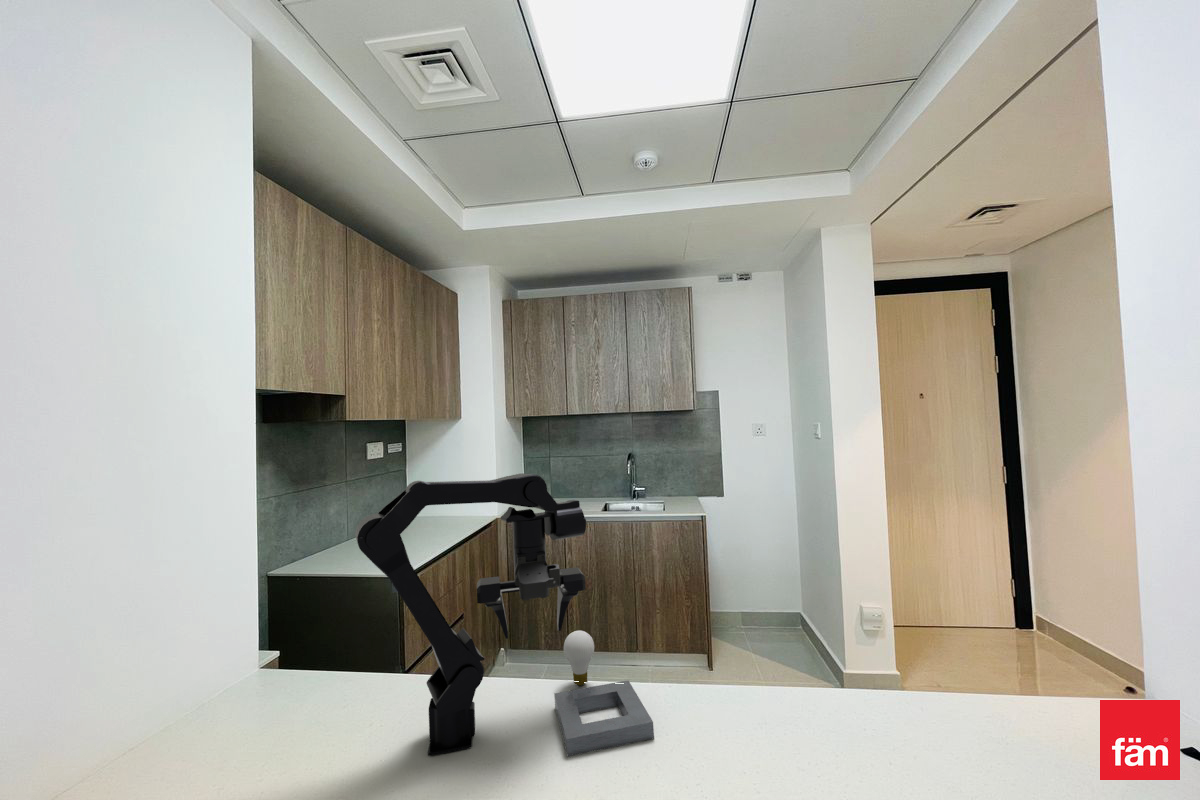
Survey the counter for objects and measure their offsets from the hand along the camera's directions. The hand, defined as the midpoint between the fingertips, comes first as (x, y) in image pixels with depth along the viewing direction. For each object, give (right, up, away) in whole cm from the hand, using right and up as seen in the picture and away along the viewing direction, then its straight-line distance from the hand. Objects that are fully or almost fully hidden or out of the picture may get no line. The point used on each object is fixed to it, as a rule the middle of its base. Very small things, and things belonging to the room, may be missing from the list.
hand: (533, 634), depth 86 cm
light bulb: (+8, -13, +7) cm, 17 cm away
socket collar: (+12, -12, -6) cm, 18 cm away
